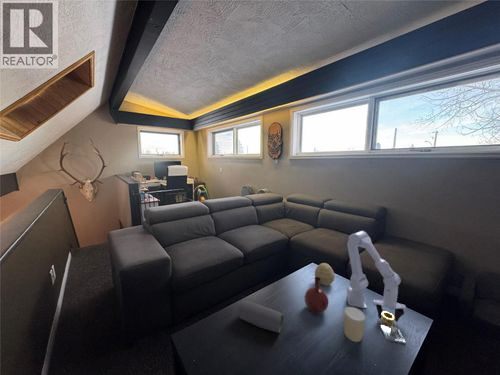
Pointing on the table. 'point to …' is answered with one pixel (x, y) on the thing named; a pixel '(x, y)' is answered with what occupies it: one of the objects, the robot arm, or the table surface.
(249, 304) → the bluetooth speaker
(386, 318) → the collar
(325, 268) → the fossilized egg
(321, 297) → the round-bottom flask
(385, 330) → the shaft block
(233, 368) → the table surface
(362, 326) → the coffee cup
